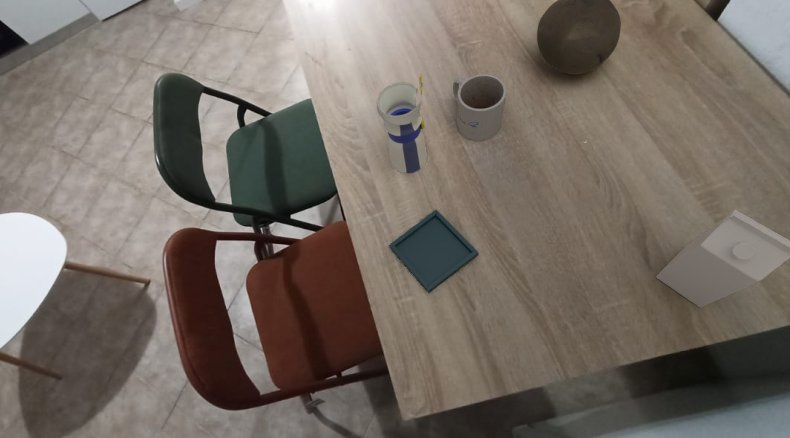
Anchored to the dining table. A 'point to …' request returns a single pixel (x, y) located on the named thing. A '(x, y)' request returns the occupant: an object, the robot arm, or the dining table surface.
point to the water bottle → (403, 126)
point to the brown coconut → (578, 34)
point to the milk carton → (725, 259)
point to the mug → (479, 106)
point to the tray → (433, 250)
